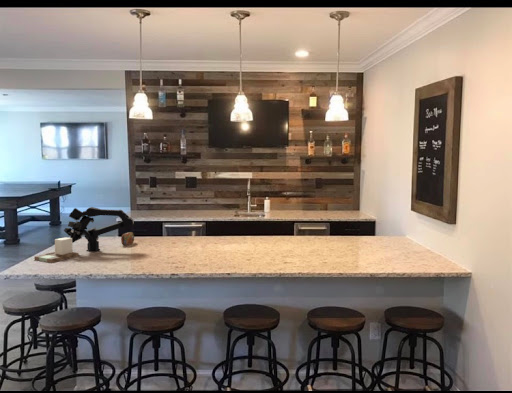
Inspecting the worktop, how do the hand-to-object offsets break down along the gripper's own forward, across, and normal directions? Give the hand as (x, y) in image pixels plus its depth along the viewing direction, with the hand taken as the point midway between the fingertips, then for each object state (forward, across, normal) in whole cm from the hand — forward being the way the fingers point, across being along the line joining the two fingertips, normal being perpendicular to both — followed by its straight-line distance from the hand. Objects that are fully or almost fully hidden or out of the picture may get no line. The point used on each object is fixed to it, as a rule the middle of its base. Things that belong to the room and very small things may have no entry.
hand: (69, 243), depth 277 cm
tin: (-25, +8, +35) cm, 44 cm away
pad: (+17, +1, -7) cm, 18 cm away
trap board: (+12, +1, -2) cm, 12 cm away
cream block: (+7, 0, 0) cm, 7 cm away
